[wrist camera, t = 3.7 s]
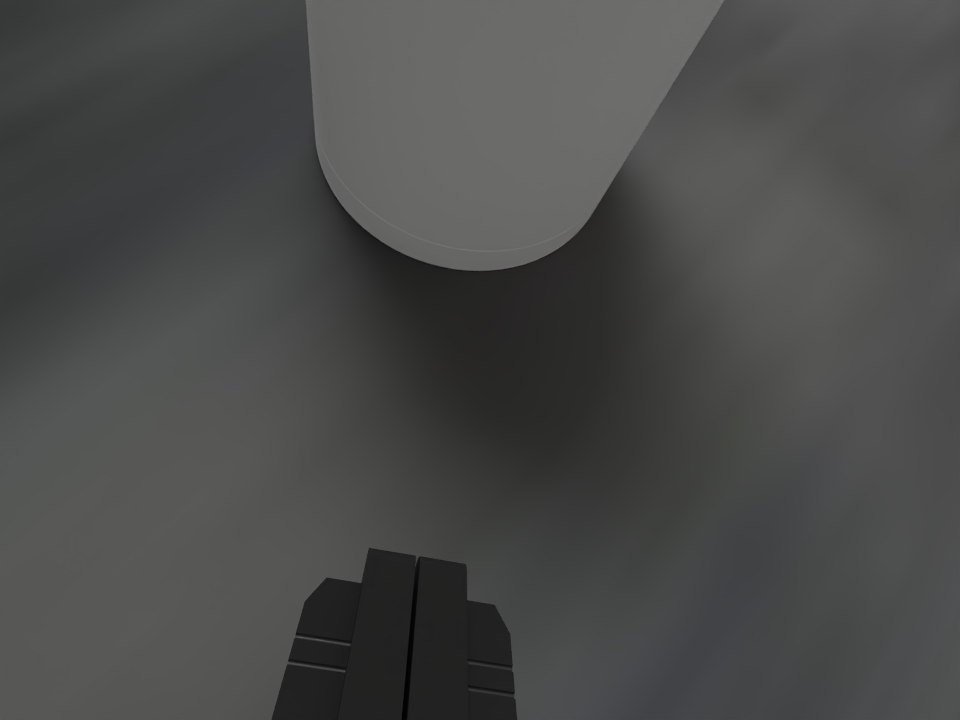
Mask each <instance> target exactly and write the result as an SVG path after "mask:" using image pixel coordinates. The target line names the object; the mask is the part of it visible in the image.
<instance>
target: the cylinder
mask: <svg viewBox="0 0 960 720" xmlns="http://www.w3.org/2000/svg"><path fill="white" fill-rule="evenodd" d="M723 2H724V0H306V10H307V24H308V39H309V54H310V68H311V83H312V98H313V112H314V127H315V141H316V148H317V154H318V158H319V162H320V165H321V168H322V171H323V173H324V176H325V178H326V180H327V182H328V184H329V186H330V188H331V190H332V191H333V193H334V195H335V196H336V198H337V199H338V201H339V202H340V203H341V205H342V206H343V207H344V208H345V210H346V211H347V212H348V213H349V214H350V215H351V216H352V218H353V219H354V220H355V221H356V222H358V223H359V224H360V225H361V226H362V227H363V228H364V229H365V230H367V231H368V232H369V233H370V234H371V235H373V236H374V237H376V238H377V239H378V240H380V241H381V242H383V243H384V244H386V245H388V246H390V247H391V248H393V249H395V250H397V251H399V252H401V253H403V254H405V255H407V256H410V257H412V258H414V259H417V260H420V261H423V262H426V263H429V264H433V265H436V266H440V267H445V268H451V269H458V270H468V271H490V270H500V269H506V268H512V267H516V266H520V265H524V264H527V263H530V262H533V261H535V260H537V259H540V258H542V257H544V256H546V255H548V254H550V253H552V252H554V251H555V250H557V249H558V248H560V247H561V246H563V245H564V244H565V243H567V242H568V241H569V240H570V239H571V238H573V237H574V236H575V235H576V234H577V233H578V232H579V231H580V229H581V228H582V227H583V226H584V225H585V224H586V222H587V221H588V219H589V218H590V217H591V215H592V213H593V212H594V210H595V209H596V207H597V205H598V204H599V202H600V200H601V199H602V197H603V196H604V194H605V192H606V191H607V189H608V188H609V186H610V184H611V183H612V181H613V179H614V178H615V176H616V175H617V173H618V171H619V170H620V168H621V167H622V165H623V163H624V162H625V160H626V158H627V157H628V155H629V154H630V152H631V150H632V149H633V147H634V146H635V144H636V142H637V141H638V139H639V137H640V136H641V134H642V133H643V131H644V129H645V128H646V126H647V124H648V123H649V121H650V120H651V118H652V116H653V115H654V113H655V112H656V110H657V108H658V107H659V105H660V103H661V102H662V100H663V99H664V97H665V95H666V94H667V92H668V91H669V89H670V87H671V86H672V84H673V82H674V81H675V79H676V78H677V76H678V74H679V73H680V71H681V70H682V68H683V66H684V65H685V63H686V61H687V60H688V58H689V57H690V55H691V53H692V52H693V50H694V49H695V47H696V45H697V44H698V42H699V40H700V39H701V37H702V36H703V34H704V32H705V31H706V29H707V28H708V26H709V24H710V23H711V21H712V19H713V18H714V16H715V15H716V13H717V11H718V10H719V8H720V7H721V5H722V3H723Z"/></svg>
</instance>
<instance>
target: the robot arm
mask: <svg viewBox="0 0 960 720" xmlns="http://www.w3.org/2000/svg"><path fill="white" fill-rule="evenodd" d="M415 564H416V567H415ZM512 666H513V664H512V652H511V639H510V633H509V631H508V629H507V627H506V625H505V624H504V622H503V620H502V618H501V616H500V614H499V612H498V610H497V609H496V607H495V605H492V604H486V603H480V602H474V601H468V600H467V568H466V565H465V564H462V563H456V562H450V561H444V560H438V559H433V558H427V557H421V556H419V558H418V560H417V563H416V556H414V555H408V554H402V553H396V552H390V551H384V550H378V549H372V548H369V550H368V554H367V559H366V564H365V568H364V573H363V578H362V582H361V583H356V582H350V581H344V580H338V579H332V578H326V579H325V580H324V581H323V582H322V583H321V584H320V585H319V587H318V588H317V589H316V590H315V591H314V592H313V593H312V594H311V595H310V597H309V598H308V599H307V600H306V601H305V603H304V607H303V610H302V614H301V617H300V621H299V624H298V628H297V631H296V636H295V639H294V642H293V645H292V649H291V653H290V656H289V660H288V664H287V667H286V670H285V674H284V677H283V681H282V684H281V688H280V691H279V695H278V699H277V702H276V706H275V709H274V713H273V716H272V720H517V714H516V701H515V699H514V693H515V689H514V676H513V672H512Z"/></svg>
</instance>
